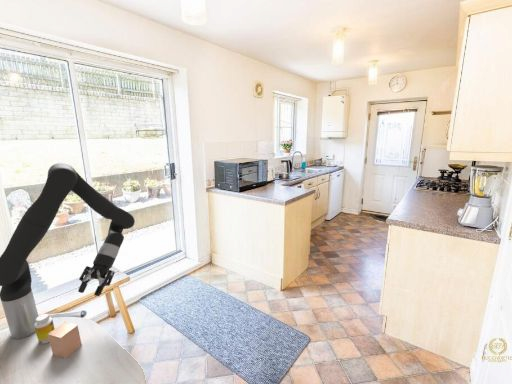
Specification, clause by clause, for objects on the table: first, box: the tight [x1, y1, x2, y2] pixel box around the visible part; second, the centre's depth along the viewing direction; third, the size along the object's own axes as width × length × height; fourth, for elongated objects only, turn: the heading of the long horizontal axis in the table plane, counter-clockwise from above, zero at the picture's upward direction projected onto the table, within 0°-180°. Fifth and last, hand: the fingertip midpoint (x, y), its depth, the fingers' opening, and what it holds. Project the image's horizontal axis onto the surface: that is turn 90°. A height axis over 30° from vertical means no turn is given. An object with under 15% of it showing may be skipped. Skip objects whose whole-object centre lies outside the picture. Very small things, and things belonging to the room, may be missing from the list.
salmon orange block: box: [48, 321, 83, 359], centre depth 96 cm, size 6×6×9 cm
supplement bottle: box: [34, 313, 56, 344], centre depth 101 cm, size 6×6×10 cm
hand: (88, 294), depth 104 cm, fingers open, 8 cm apart
